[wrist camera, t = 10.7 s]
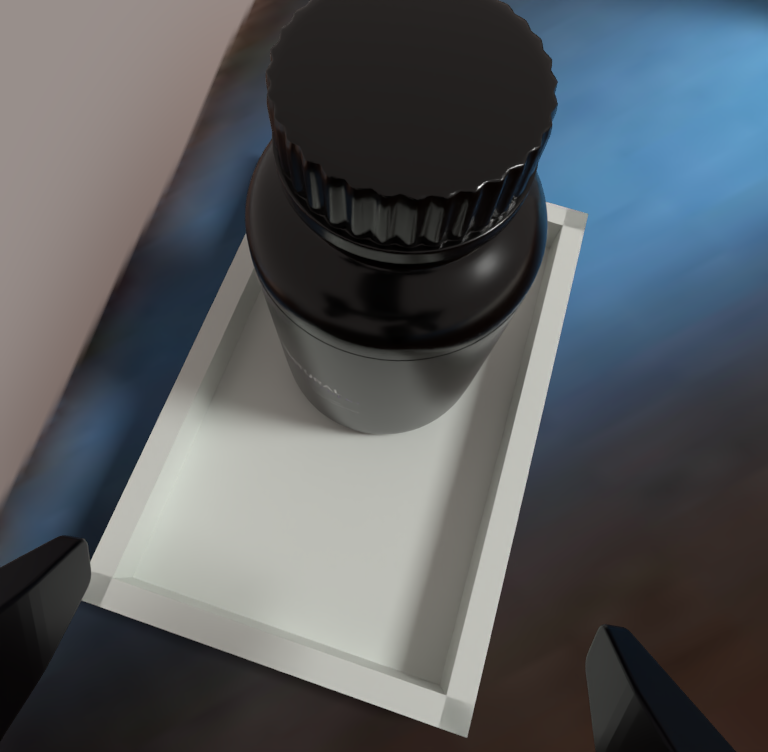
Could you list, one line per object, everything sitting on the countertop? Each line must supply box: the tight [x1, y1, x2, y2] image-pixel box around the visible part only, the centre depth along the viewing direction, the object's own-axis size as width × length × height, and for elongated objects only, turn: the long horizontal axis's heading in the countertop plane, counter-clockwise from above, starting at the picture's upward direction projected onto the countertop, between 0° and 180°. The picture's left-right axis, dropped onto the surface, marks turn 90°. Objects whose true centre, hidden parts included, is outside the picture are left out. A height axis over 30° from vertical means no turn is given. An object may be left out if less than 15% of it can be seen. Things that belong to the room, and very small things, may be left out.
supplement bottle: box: [245, 0, 558, 434], centre depth 15 cm, size 7×7×12 cm
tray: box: [82, 202, 588, 738], centre depth 19 cm, size 18×12×2 cm, turn 162°
